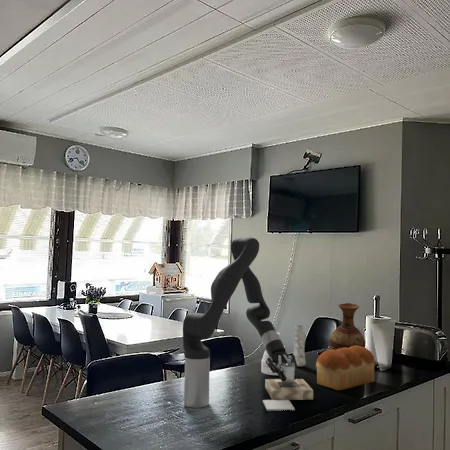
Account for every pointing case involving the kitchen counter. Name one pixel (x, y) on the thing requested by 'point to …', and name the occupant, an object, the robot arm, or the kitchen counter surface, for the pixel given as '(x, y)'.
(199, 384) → the robot arm
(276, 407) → the grey rubber pad
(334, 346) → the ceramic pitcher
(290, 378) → the steel plug
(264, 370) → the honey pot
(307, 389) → the frame
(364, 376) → the bread
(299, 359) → the plastic bottle
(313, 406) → the kitchen counter surface
